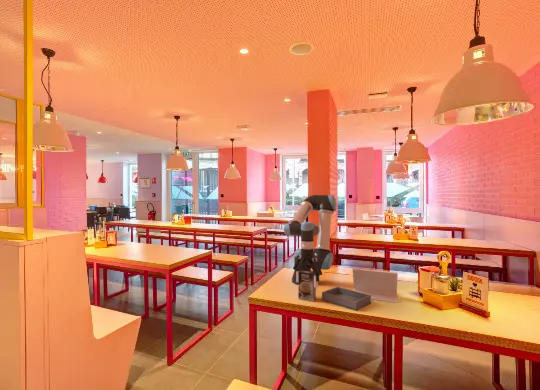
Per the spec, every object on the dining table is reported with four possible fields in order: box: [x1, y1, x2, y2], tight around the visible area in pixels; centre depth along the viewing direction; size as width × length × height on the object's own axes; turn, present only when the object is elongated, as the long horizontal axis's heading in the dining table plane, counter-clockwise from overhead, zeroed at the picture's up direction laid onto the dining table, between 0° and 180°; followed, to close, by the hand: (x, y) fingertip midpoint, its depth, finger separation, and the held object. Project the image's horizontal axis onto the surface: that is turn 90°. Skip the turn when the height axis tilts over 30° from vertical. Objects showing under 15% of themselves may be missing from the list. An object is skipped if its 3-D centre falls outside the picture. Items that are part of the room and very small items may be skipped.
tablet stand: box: [352, 268, 399, 304], centre depth 170 cm, size 18×25×17 cm
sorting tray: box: [321, 286, 372, 312], centre depth 160 cm, size 22×16×4 cm
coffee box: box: [297, 270, 317, 302], centre depth 164 cm, size 9×6×16 cm
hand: (307, 284), depth 164 cm, fingers open, 13 cm apart
